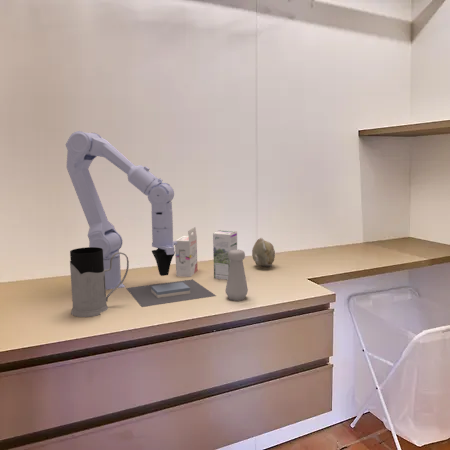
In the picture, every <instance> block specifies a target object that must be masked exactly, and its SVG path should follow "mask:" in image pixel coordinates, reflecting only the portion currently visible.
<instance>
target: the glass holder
mask: <svg viewBox="0 0 450 450" xmlns="http://www.w3.org/2000/svg"><path fill="white" fill-rule="evenodd" d="M117 254H120V255H122V256H125V258H126V269H125V273H124V275H123V278H121V282H120V283H119V284H118V285H117V286H116V287H115V288H114V289H111V291H110V292H108V294H107V290H106V286H105V271H109V270H111V268H112V260H113V258H114V256H115V255H117ZM69 257H70V260H69V267H70V282H71V283H70V284H71V300H72V309H71V311H70V313H71V315H72V316H74V317H78V318H90V317H91V318H93V317H97V316H100V315H101V314H102V313H104V312H106V311H108V309H109V306H108V304H107V303H108V299H109V297H110V296H111V295H112V294H113V293H114V292H115V291H116V290H117V289H119V288H118V287H119V286H120V285H121V284H122V283H123V284H124V281H125V280H126V278H127V275H128V272H129V266H130V265H129V262H130V261H129V257H128V256H127V254H125V252H121V251H119V252H117V253H115V254H114V255H113V256H112V257H111V260H110V268H109V269H107V270H104V262H103V249H102V248H97V247H89V246H88V247H87V246H86V247H79V248H73V249H72V250H69Z"/></svg>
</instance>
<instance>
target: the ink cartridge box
mask: <svg viewBox="0 0 450 450" xmlns="http://www.w3.org/2000/svg"><path fill="white" fill-rule="evenodd" d="M174 241H176V242H177V245H174V251H175V254H174V256H175V272H176V273H175V275H176V277H189V278H190V277H192V276H193V275H194V274H195V273H196V272H197V271H198V236H197V228H196V226H195V227H193V228H191V229H189V230H187V235H182V236H181V237H179V238H177V239H175V240H174Z"/></svg>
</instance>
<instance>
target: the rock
mask: <svg viewBox="0 0 450 450" xmlns="http://www.w3.org/2000/svg"><path fill="white" fill-rule="evenodd" d="M275 253H276V251H275V248H274V245H273V244H272V243H271V242H269V241H268V240H265V239H263V237H260V238H258V239H256V241H255V243H254V245H253V247H252V251H251V255H252V259H253V261H254V264H255V265H256V266H258V267H266V268H270V267H271V268H272V267H273V266H274V265H273V263H274V261H275V257H276V254H275Z"/></svg>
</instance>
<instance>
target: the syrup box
mask: <svg viewBox="0 0 450 450" xmlns="http://www.w3.org/2000/svg"><path fill="white" fill-rule="evenodd" d="M212 239H213V240H212V246H213V248H212V250H213V251H212V252H213V253H212V254H213V279H214V280H224V281H227V279H228V273H229V267H230V261H231V260H229V259H228V253H229V251H231V250H238V231H236V230H221V229H220V230H217V231H215V232H213V233H212Z"/></svg>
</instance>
